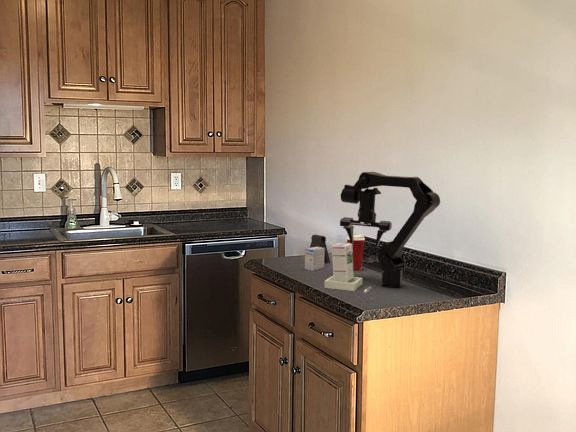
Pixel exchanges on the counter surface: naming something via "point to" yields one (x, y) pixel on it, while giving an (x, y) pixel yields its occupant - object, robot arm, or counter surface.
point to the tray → (343, 284)
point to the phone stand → (320, 245)
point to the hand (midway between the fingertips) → (364, 246)
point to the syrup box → (343, 262)
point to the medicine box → (314, 258)
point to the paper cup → (357, 250)
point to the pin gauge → (367, 289)
